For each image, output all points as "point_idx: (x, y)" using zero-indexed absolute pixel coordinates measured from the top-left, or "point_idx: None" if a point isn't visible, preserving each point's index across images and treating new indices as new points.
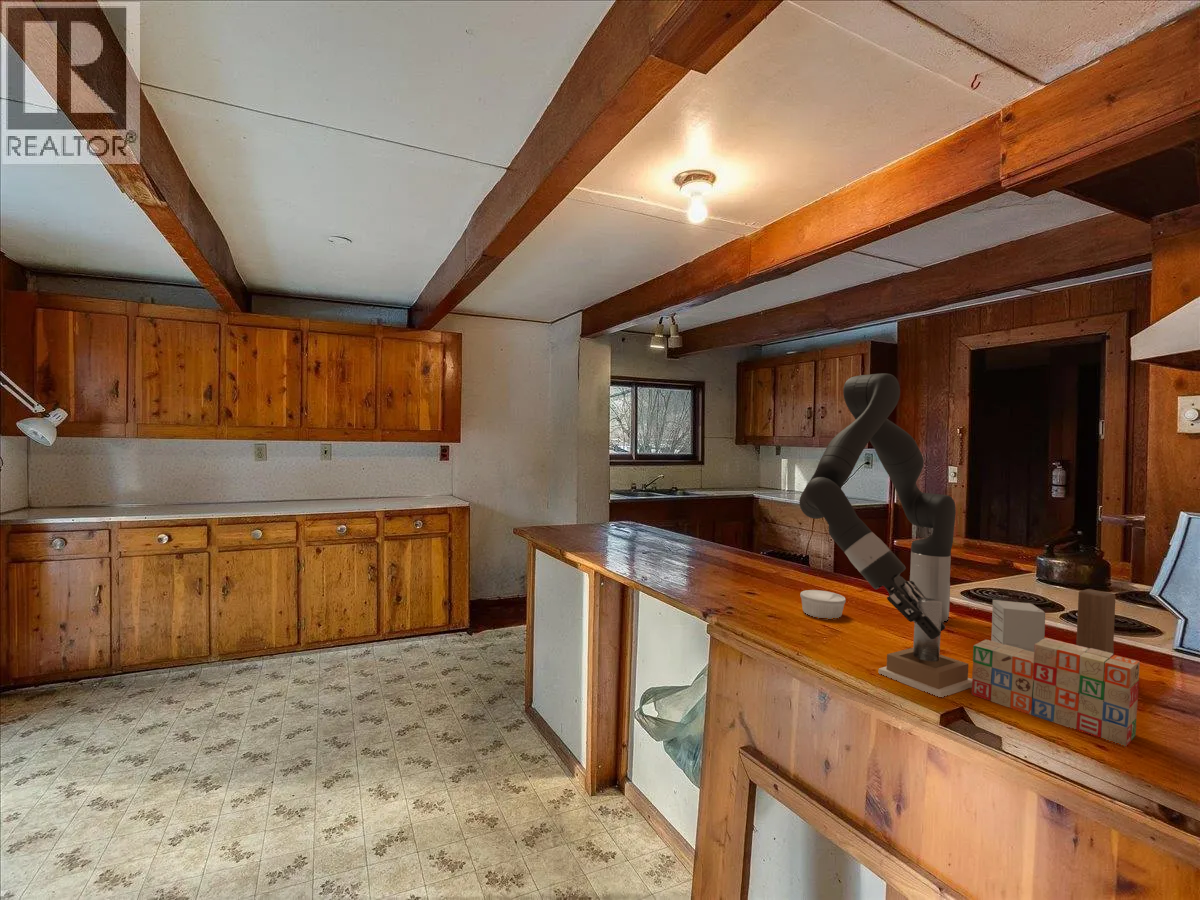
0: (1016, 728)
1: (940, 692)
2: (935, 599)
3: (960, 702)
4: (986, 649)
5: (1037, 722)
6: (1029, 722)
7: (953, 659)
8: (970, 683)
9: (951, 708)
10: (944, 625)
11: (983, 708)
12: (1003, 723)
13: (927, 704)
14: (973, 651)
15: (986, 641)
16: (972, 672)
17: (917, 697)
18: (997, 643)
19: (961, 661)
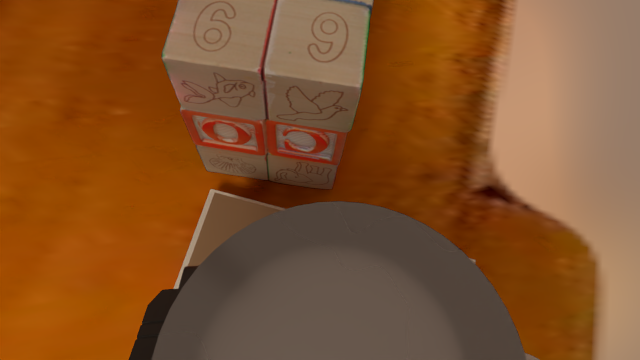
0: (502, 53)
1: (474, 262)
2: (163, 327)
3: (443, 203)
4: (367, 32)
5: (402, 19)
6: (422, 33)
7: (201, 259)
8: (254, 202)
9: (528, 214)
10: (191, 269)
11: (429, 139)
12: (498, 81)
13: (572, 284)
14: (357, 104)
15: (207, 49)
16: (340, 155)
17: (541, 332)
18: (200, 4)
19: (203, 223)
